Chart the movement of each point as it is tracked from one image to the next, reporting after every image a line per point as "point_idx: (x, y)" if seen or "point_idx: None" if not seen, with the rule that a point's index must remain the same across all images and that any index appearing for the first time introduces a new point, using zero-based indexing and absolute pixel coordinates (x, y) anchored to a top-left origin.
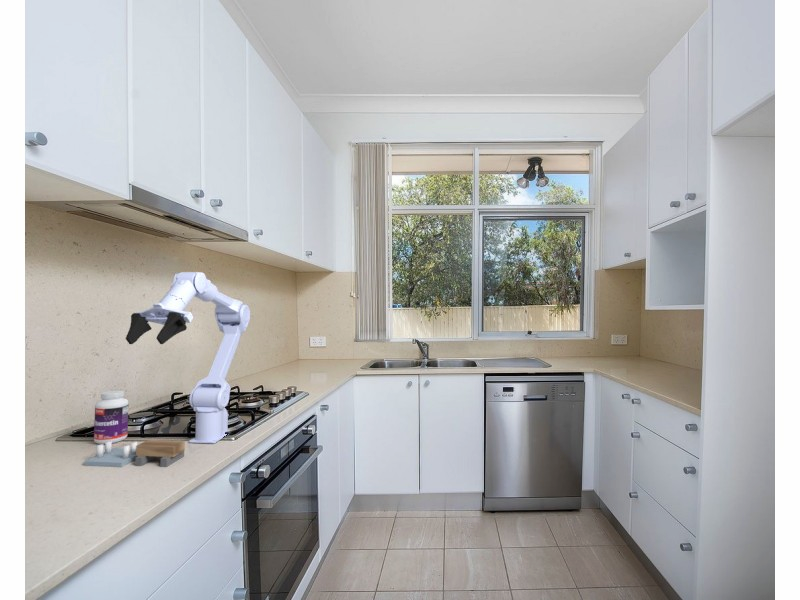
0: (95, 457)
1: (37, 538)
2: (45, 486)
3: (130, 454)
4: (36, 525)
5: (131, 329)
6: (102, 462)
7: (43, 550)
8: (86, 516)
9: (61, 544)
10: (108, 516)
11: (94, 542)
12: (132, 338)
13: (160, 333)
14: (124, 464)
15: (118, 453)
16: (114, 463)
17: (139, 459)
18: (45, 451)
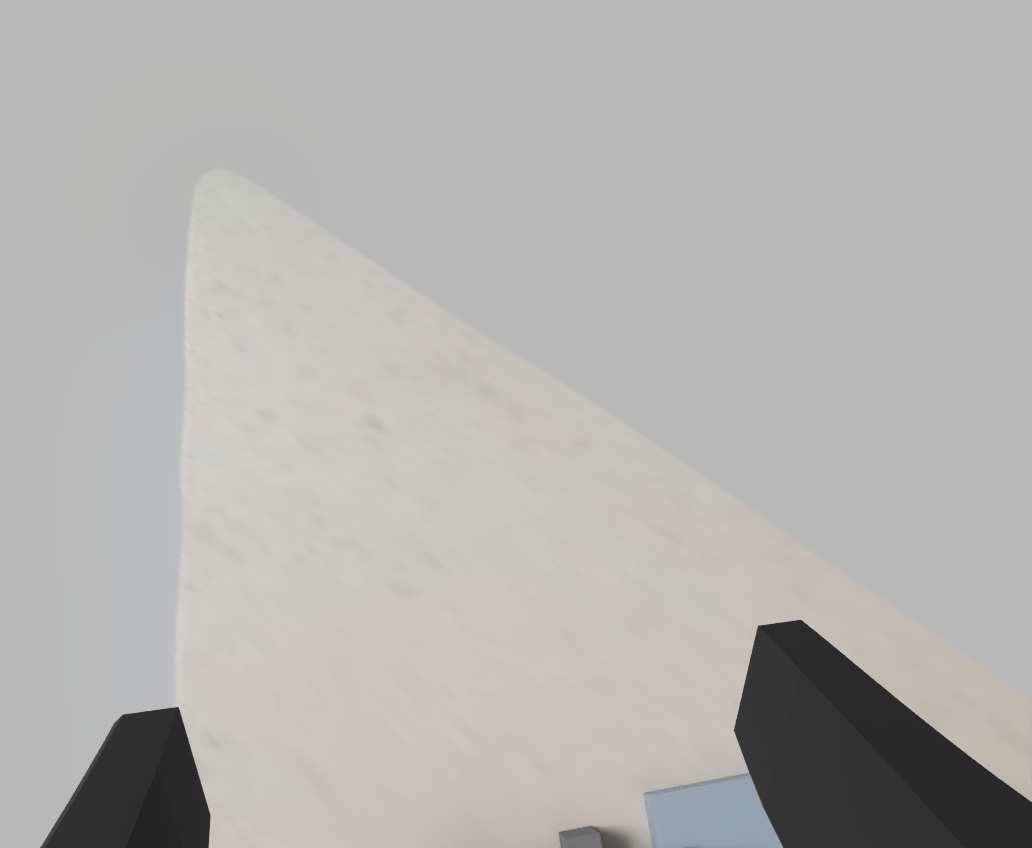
0: None
1: (394, 283)
2: (747, 547)
3: None
4: (473, 333)
5: (914, 761)
6: (745, 777)
7: (315, 243)
8: (368, 403)
9: (293, 271)
10: (292, 417)
11: (203, 294)
12: (774, 735)
13: (98, 794)
14: (648, 815)
15: None
16: (684, 789)
17: (577, 836)
18: None
